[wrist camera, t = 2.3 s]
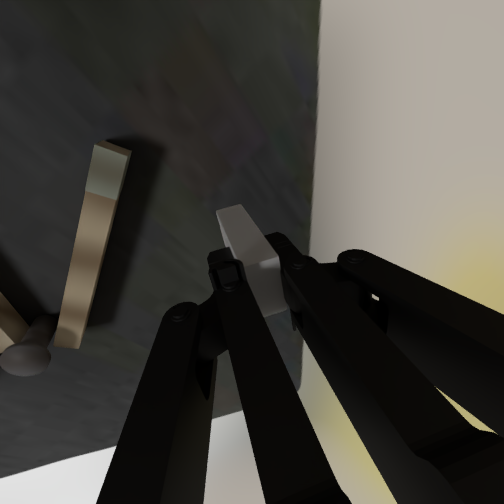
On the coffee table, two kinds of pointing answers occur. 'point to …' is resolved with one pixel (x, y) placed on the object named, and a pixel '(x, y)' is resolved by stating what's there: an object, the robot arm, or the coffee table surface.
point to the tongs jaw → (91, 240)
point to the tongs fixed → (24, 341)
